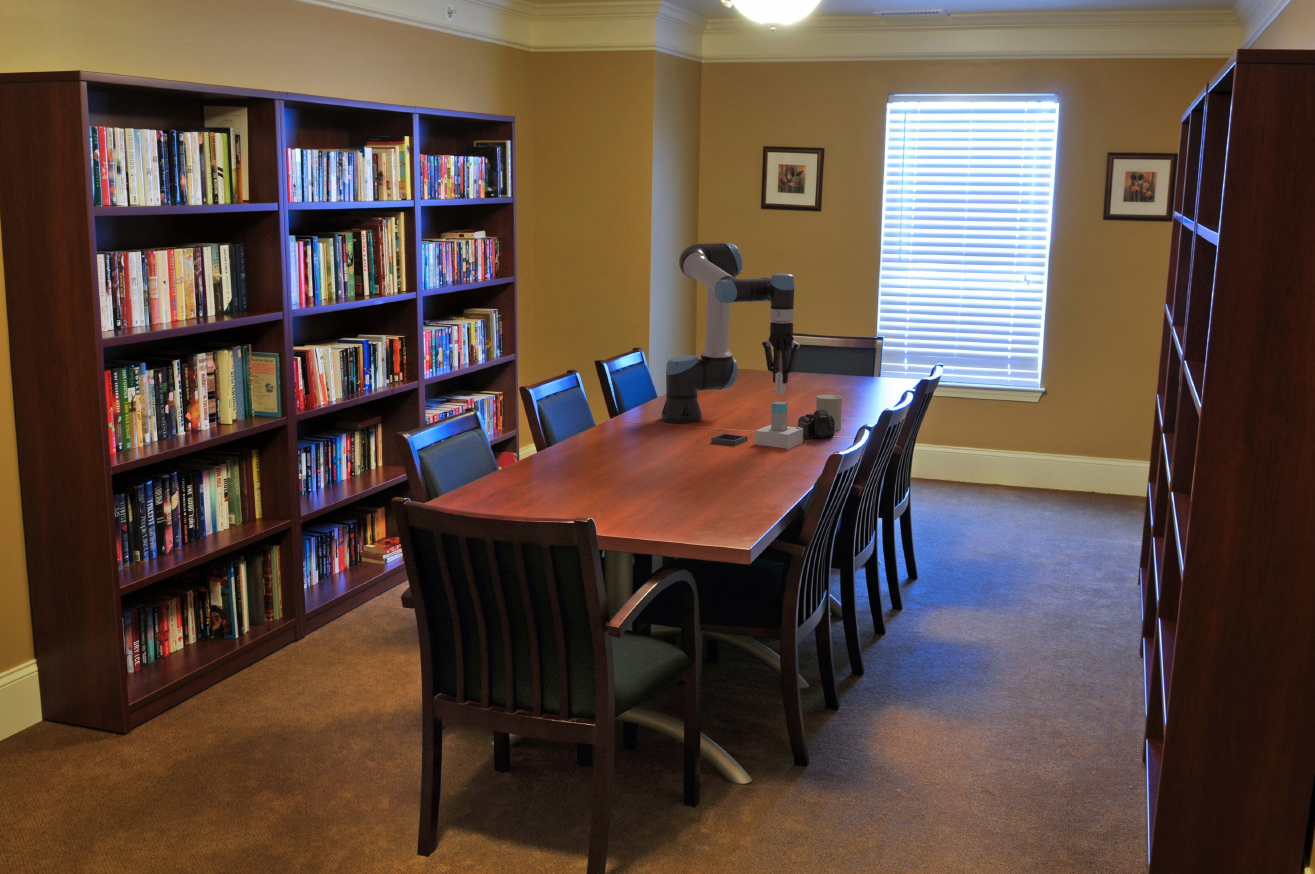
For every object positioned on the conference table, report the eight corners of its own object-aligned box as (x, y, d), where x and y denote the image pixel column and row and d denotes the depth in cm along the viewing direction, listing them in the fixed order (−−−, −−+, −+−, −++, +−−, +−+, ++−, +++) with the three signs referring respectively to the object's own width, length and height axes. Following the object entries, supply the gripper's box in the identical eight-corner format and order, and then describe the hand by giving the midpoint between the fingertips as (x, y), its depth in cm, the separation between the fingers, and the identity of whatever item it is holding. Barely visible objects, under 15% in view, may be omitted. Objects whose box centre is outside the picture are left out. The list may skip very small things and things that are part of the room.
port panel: (754, 445, 367) (755, 429, 366) (770, 438, 377) (770, 423, 376) (787, 449, 361) (788, 433, 360) (802, 442, 371) (803, 427, 370)
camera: (809, 442, 373) (810, 413, 371) (793, 436, 381) (794, 408, 379) (842, 438, 378) (843, 410, 376) (825, 433, 387) (826, 405, 385)
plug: (770, 441, 368) (771, 403, 366) (775, 439, 372) (776, 401, 369) (781, 442, 366) (782, 404, 364) (786, 440, 370) (787, 402, 367)
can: (840, 431, 390) (841, 398, 387) (814, 430, 391) (815, 397, 389) (841, 426, 399) (842, 393, 396) (816, 425, 400) (817, 392, 398)
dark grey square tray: (711, 443, 370) (711, 438, 369) (723, 439, 377) (723, 433, 377) (735, 447, 365) (735, 441, 365) (747, 442, 373) (747, 436, 372)
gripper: (757, 321, 361) (756, 392, 366) (796, 323, 354) (794, 396, 359) (767, 319, 367) (765, 389, 372) (806, 321, 360) (804, 393, 365)
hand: (780, 392), depth 366 cm, fingers closed
